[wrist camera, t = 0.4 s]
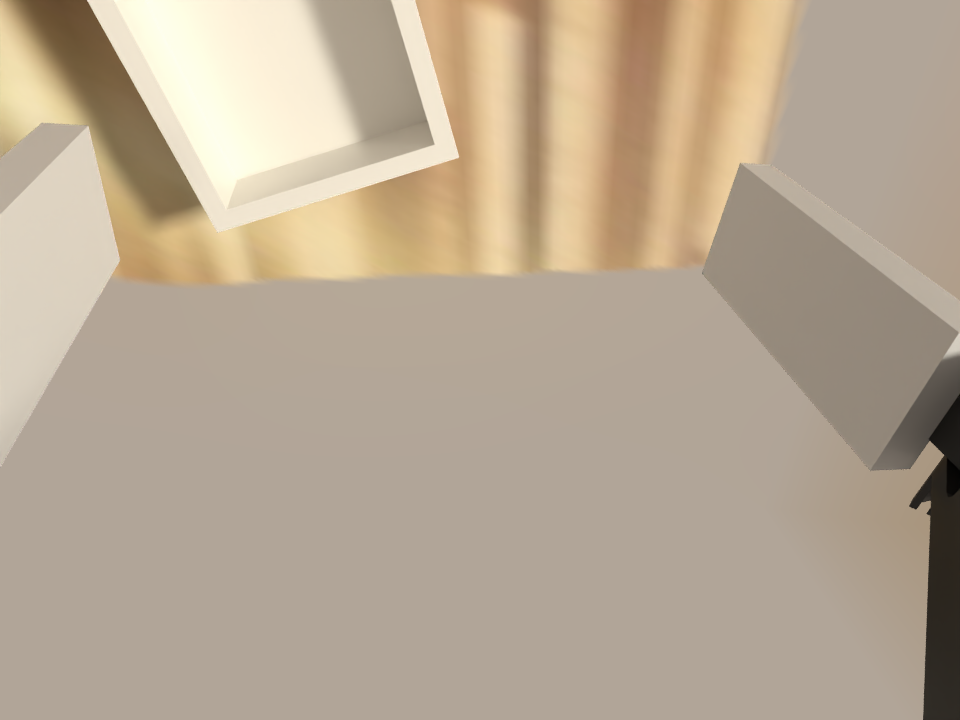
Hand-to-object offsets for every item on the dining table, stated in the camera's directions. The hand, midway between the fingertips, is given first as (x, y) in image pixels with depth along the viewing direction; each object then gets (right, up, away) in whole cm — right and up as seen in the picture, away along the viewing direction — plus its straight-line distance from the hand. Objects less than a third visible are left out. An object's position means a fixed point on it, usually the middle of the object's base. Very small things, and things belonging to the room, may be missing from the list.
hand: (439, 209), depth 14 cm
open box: (-9, +13, +20) cm, 25 cm away
